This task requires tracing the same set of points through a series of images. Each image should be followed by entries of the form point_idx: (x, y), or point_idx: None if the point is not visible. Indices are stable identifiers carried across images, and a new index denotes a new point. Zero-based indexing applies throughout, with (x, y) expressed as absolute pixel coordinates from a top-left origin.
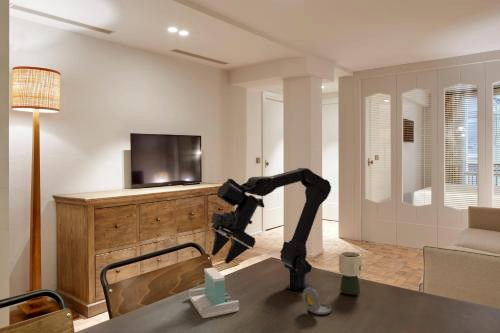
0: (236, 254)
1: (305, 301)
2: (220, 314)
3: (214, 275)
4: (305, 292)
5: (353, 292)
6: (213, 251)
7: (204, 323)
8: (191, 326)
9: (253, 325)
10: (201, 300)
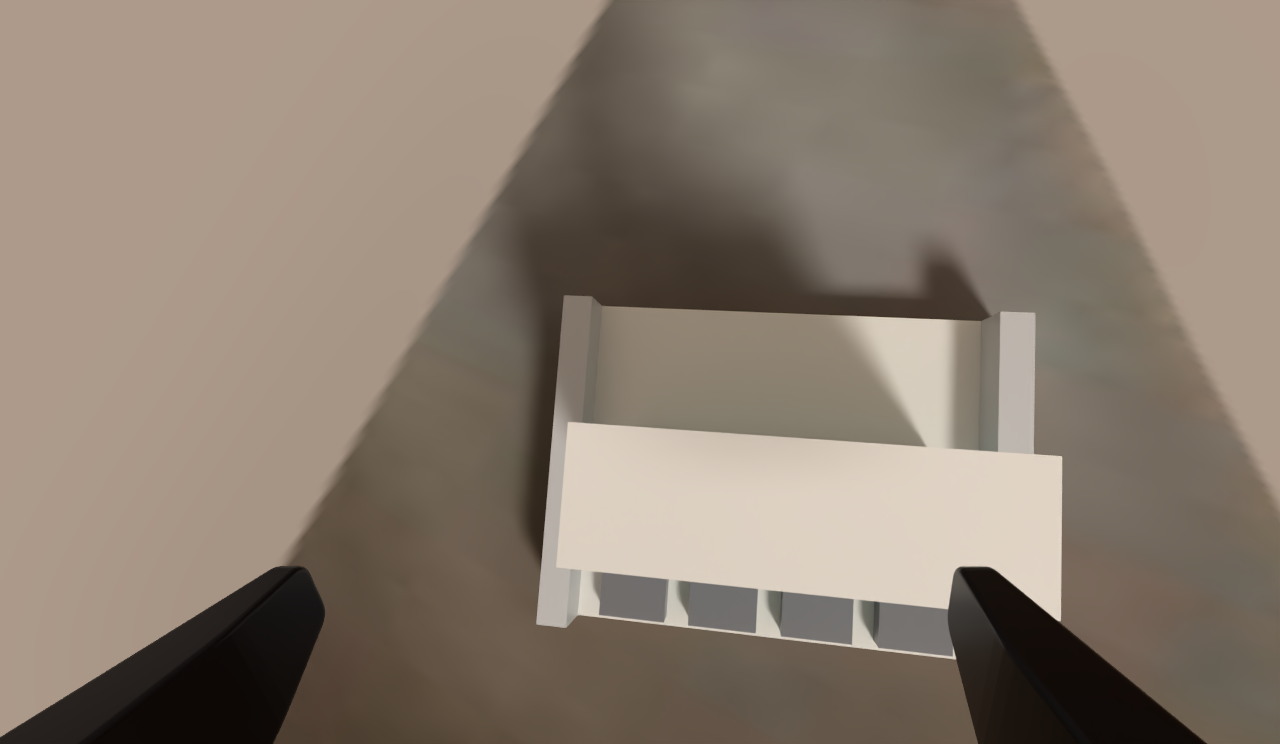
0: None
1: None
2: None
3: (699, 477)
4: None
5: None
6: (983, 627)
7: (512, 295)
8: (519, 204)
9: (319, 579)
10: (829, 380)
